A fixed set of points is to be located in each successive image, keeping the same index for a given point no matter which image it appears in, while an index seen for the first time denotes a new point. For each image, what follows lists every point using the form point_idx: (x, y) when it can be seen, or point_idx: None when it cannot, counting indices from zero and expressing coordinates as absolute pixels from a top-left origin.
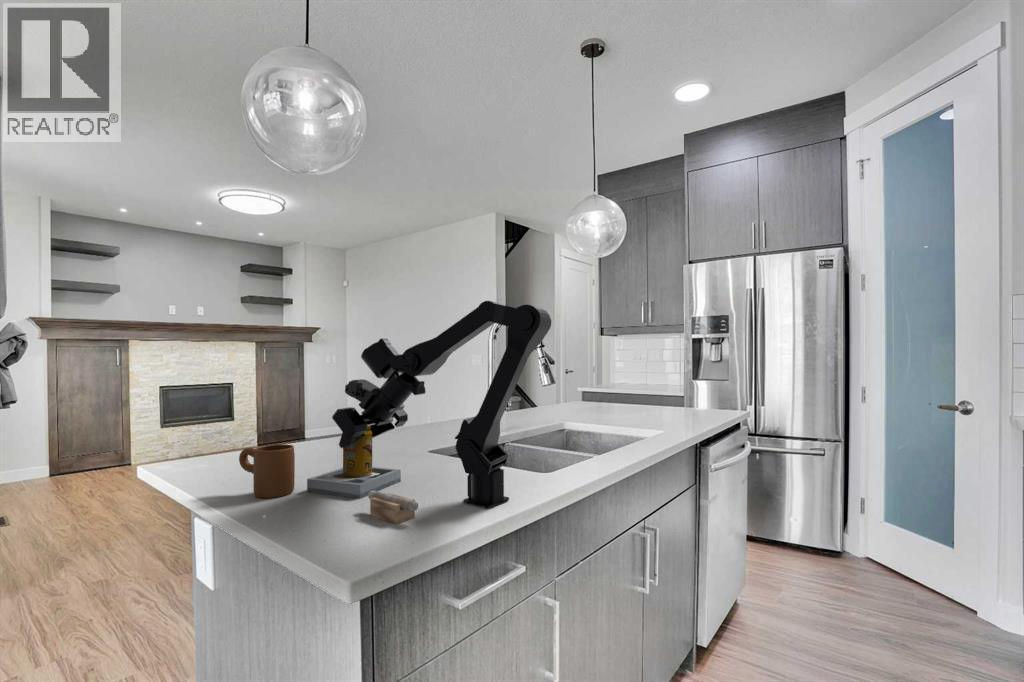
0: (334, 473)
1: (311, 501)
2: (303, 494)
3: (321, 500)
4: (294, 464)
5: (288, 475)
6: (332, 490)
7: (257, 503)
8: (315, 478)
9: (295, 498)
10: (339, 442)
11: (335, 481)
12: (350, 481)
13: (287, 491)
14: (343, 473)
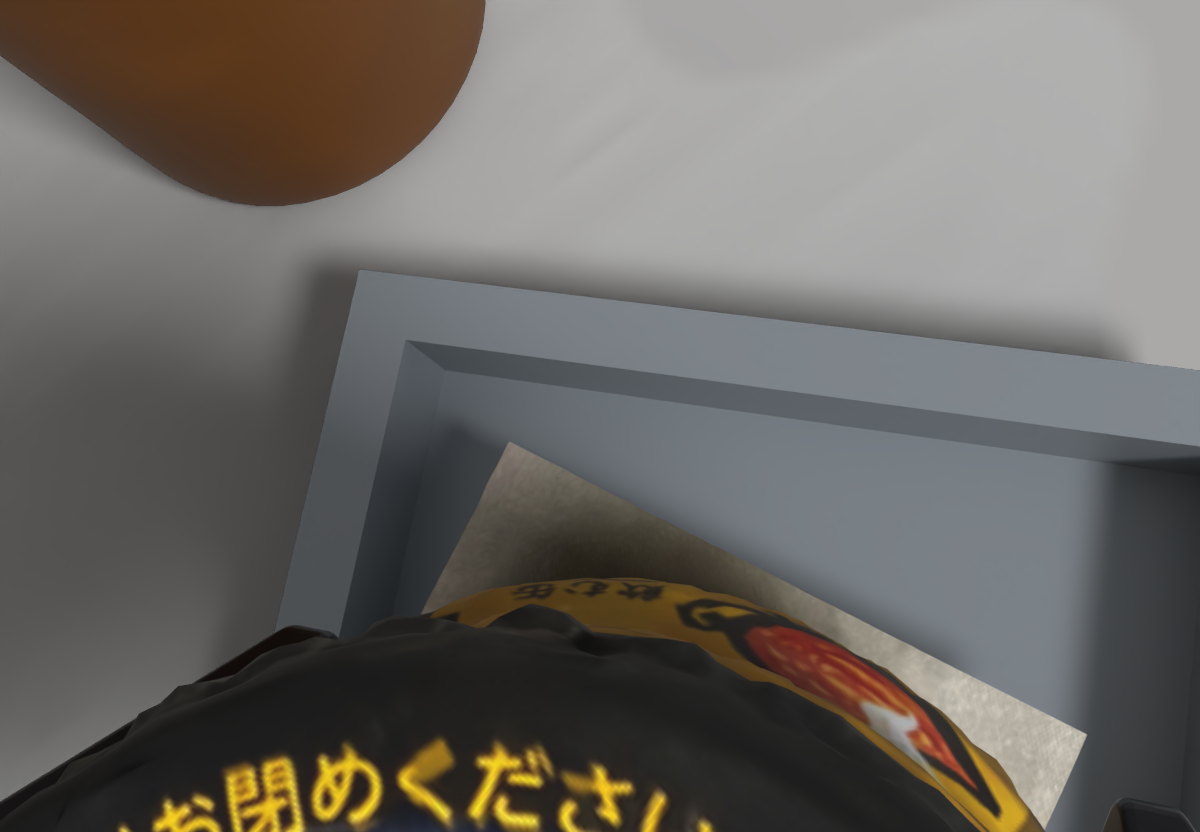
0: (795, 400)
1: (93, 606)
2: (316, 351)
3: (132, 697)
4: (231, 19)
5: (137, 119)
6: None
7: (9, 123)
8: (394, 361)
9: (176, 365)
10: (233, 661)
11: None
12: None
13: (234, 197)
14: (734, 592)
